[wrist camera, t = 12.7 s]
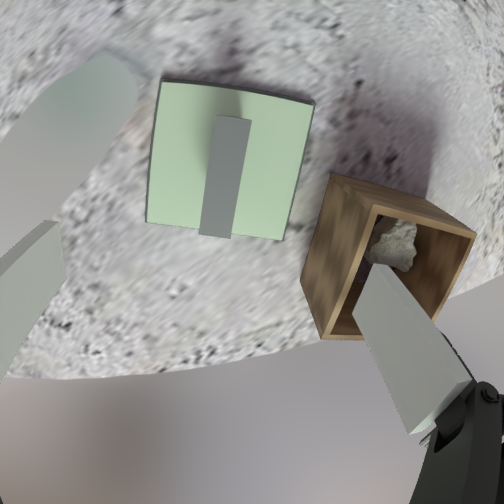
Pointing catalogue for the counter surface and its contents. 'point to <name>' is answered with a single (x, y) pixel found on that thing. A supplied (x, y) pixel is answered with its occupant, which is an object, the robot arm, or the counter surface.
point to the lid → (225, 160)
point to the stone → (392, 243)
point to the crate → (354, 244)
